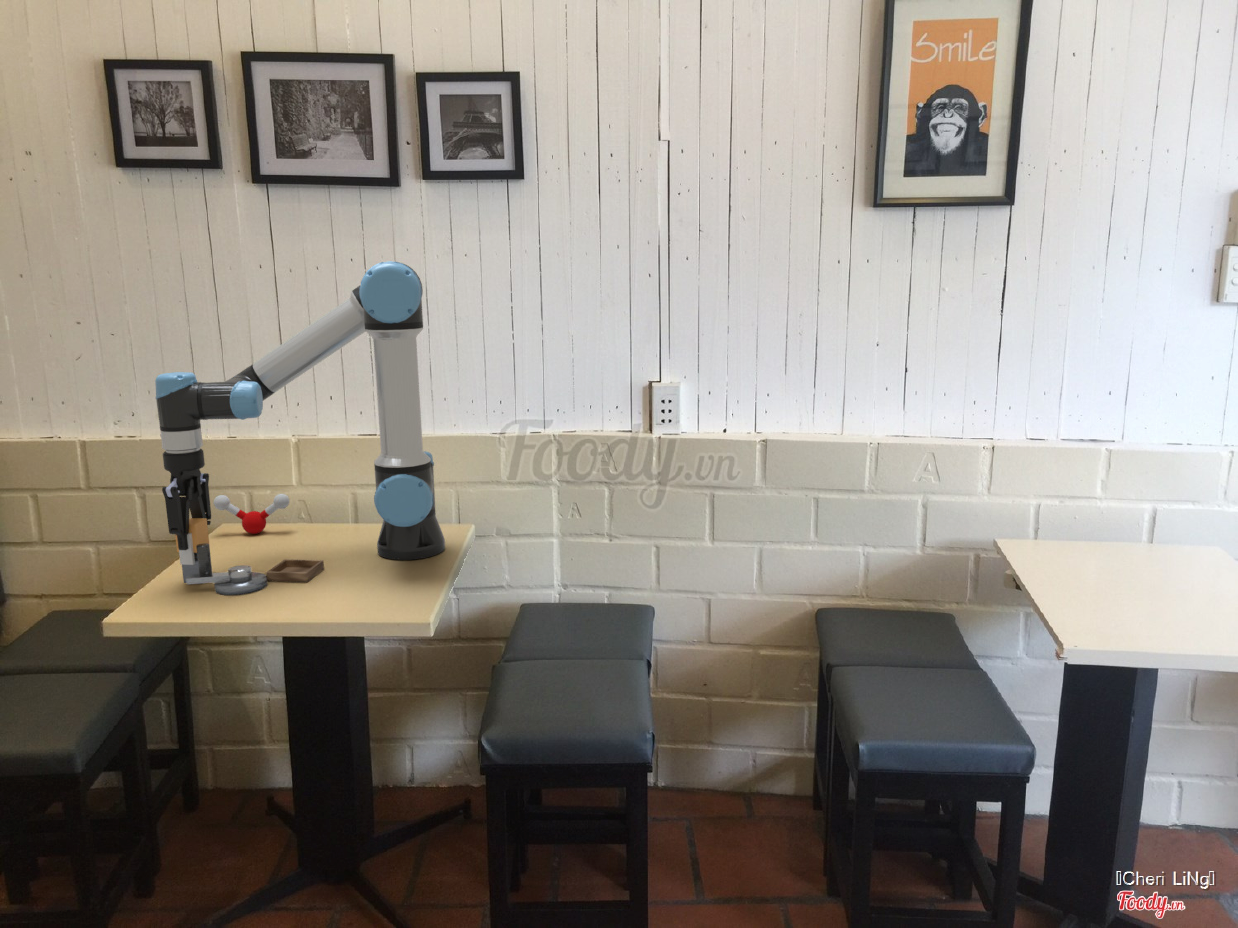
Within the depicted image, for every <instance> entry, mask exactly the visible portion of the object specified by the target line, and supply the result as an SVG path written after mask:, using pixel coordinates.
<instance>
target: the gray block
mask: <svg viewBox="0 0 1238 928" xmlns="http://www.w3.org/2000/svg"><path fill="white" fill-rule="evenodd" d="M194 559H195V564H194V565H183V564H181V570H182V579H183V584H184V583H187V582H186V578H187V577H188V575H194V574H199V567H198V557H197V553H194ZM203 584H204V583H199V584H198V585H203Z"/></svg>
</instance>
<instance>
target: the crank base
mask: <svg viewBox="0 0 1238 928" xmlns="http://www.w3.org/2000/svg"><path fill="white" fill-rule="evenodd" d="M211 584H213V585H214V592H215V593H216V594H218V595H222V596H242V595H249V594H253V593H257V592H259V591H262V590H264V589H265V588H266V587H267V586H268V581H267V576H266V573H263V572H256V571H252V580H251V581H249V582H245V583H238V584H234V583H230V582H229V581H226V582H212V583H211Z"/></svg>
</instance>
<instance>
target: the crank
mask: <svg viewBox="0 0 1238 928" xmlns="http://www.w3.org/2000/svg"><path fill="white" fill-rule="evenodd" d="M209 545H210V543H209V544H208V543H203V544H198V545H196V548H197V557H198V567H199V574H194V575H188V577H187V578H186V582H187V584H186V585H200V584H199V583H203V584H207V583H211V584H213V583H212V582H226V581H229V582H230V583H234V584H238V583H245V582H249V581H251V580H252V572H253V571H252V566H250V565H246V564H245V565H235V566H232V567H229V568H228V569H227V571H221V572H213V565H212V557H211V549H210V547H211V546H209Z"/></svg>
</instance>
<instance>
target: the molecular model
mask: <svg viewBox="0 0 1238 928" xmlns="http://www.w3.org/2000/svg"><path fill="white" fill-rule="evenodd" d="M289 505H290V498H289V496H288V495H287V494H285V493H277V494H276V495H275V496H274V498H273V503H271V504H269V506H267V507H266V508H264V509H263V510H262V511H261V512H260V511H256V510H251V511H248V512H245V511H244V510H242V509H240V508H239V507H238V506H235V505H234V504H233V503H231V500H230V498H229V497H228V496H227V495H224V494H221V495H217V496H216V497H214V500H213V506H214V507H215V509H216V510H218V511H225V510H226V511H228V512H229V513H231V514H232V515H234V516H236V517H237V518H239V519H240V520H241V526H242V528H243V530H244V531H245V532H246V533H248V534H250V535H251V534H252V535H257V534H260V533H261V532H263V531H264V529H265V528H266V525H267V518H268V517H269V516H270V515H272V514H273V513H275V512H276V511H277V510H282V509H283V510H284V509H286V508H287V507H288V506H289Z"/></svg>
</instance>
